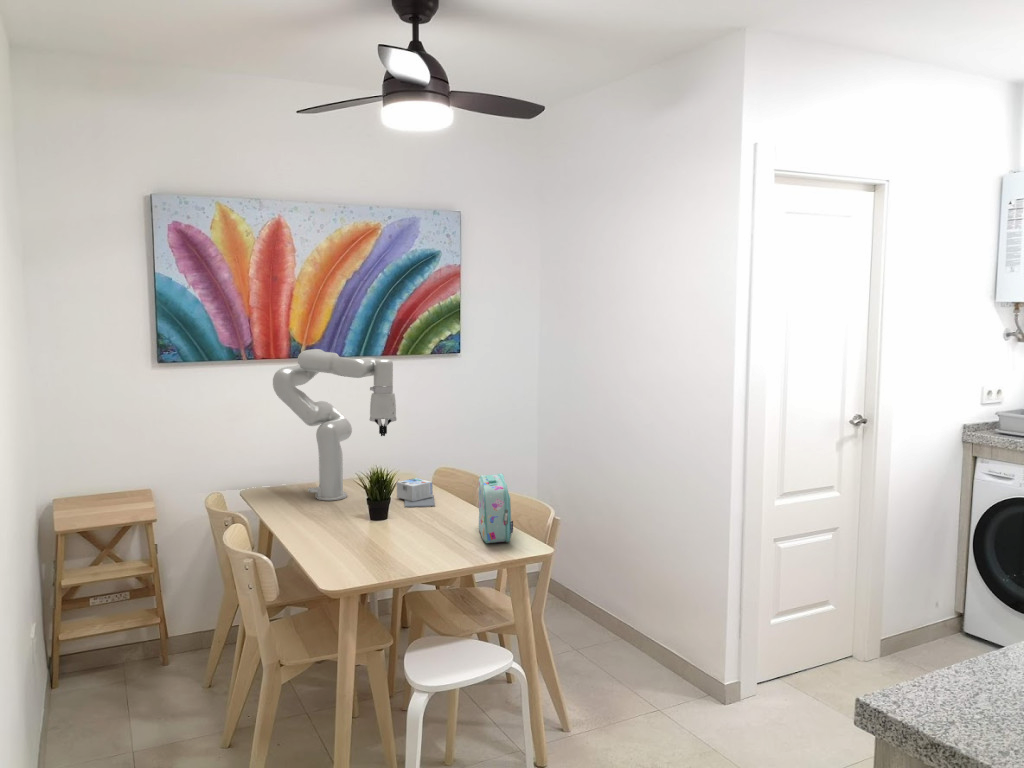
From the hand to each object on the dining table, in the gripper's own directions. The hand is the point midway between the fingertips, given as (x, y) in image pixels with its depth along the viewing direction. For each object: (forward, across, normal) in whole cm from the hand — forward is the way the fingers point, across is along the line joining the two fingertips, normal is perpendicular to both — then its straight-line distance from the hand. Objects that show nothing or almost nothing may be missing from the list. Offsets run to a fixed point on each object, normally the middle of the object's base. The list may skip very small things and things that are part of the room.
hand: (383, 435), depth 313 cm
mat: (+27, +15, -1) cm, 31 cm away
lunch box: (+27, +41, -49) cm, 69 cm away
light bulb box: (+23, +8, 0) cm, 25 cm away
